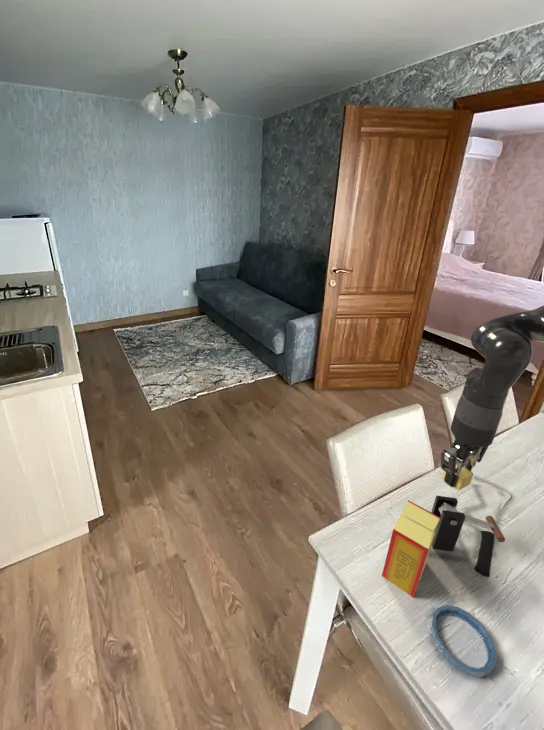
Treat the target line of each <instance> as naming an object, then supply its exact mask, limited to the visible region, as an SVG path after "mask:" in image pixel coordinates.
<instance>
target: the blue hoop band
mask: <svg viewBox="0 0 544 730" xmlns="http://www.w3.org/2000/svg"><path fill="white" fill-rule="evenodd" d="M448 616H449V617H455V618H458V619H460V620H462V621H463V622H465V623H467V624H468V625H469V626H470V627H472V629H474V630H475V631H476V633H477V634H478V636H479V637H480V638H481V640H482V641H483V644H484V647H485V649H486V657H487V658H486V659H487V660H486V662H485V664H484V666H480V667H473V666H468V665H467V664H465V663H463V662H462V661H460V660H459V659H457V658H456V657H455V656H454V655H453V654H452V652H450V651H449V650H448V648H446V646H445V644H444V643H443V641H442V640H441V638H440V637H439V636H440V635H439V633H438V623H439V621H440V620H441V619H442V618H445V617H448ZM429 630H430V632H431V636H432V640H433V642H434V645H435V646H436V648H437V649H438V651H439V653H440V654H441V656H442V657H443V658H444V659H445V660H446V661H447V662H449V664H450V666H452V667H453V668H455V669H456V670H458V671H460V672H461V673H462V674H465V675H466V676H470V677H474V678H479V679H481V678H484V677H486V676H490V675H491V673H492V672H493V669H494V668H495V666H496V664H497V662H498V657H497V655H498V654H497V648H496V645H495V643H494V640H493V637H492V636H491V634H490V633H489V632H488V630H487V629H486V627H485V626H484V624H483V623H482V622H481V621H480V620H479V619H477V618H476V617H475V616H473V615H472V614H471V613H470V612H468V611H467V610H465V609H463V608H461V607H459V606H455V605H449V604H446V605H442V606H438V607H437V608H436V610H435V611H434V612H433V613H432V616H431V618H430V629H429Z"/></svg>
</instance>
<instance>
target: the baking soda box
mask: <svg viewBox="0 0 544 730" xmlns="http://www.w3.org/2000/svg"><path fill="white" fill-rule="evenodd" d="M431 512H432V511H429V510H427V509H425V508H424V507H422V506H420V505H418V504H416V503H414V502H413V501H411V500H407V502H406V503H405V505H404V508H403V509H402V511H401V514H400V515H399V517H398V519H397V521H396V523H395V525H394V527H393V529H392V533H391V537H390V540H389V544H388V549H387V553H386V557H385V561H384V565H383V568H382V573H381V577H382V578H384V579H386V580H387V581H388V582H390V583H391V584H393V585H394V586H395V587H397V588H399V589H400V590H402V591H403V592H404V593H406V594H407V595H408V596H410V597H412V598H415V595H416V592H417V589H418V586H419V584H420V581H421V578H422V576H423V573H424V570H425V568H426V565H427V562H428V559H429V556H430V553H431V550H432V543H433V540H434V537H435V534H436V531H437V528H438V525H439V521H440V517H438V516H437V515H435V514H433V513H431Z"/></svg>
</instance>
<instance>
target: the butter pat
mask: <svg viewBox="0 0 544 730" xmlns="http://www.w3.org/2000/svg"><path fill="white" fill-rule="evenodd" d="M456 468H457V464H456ZM445 475H446V472H445V471H444V470H443V471H442V475H441V479H443V480H444V478H445ZM473 477H474V472H472V470H471V471H469V470H468V469H466V468H465V467H463V468H462V469H461V472H460V474H459V477H458V479H457V483H456V486H455V487H453V488H454V489H455V490H457V491H461V490H462V489H464V488H466V487H468V486H470V485H471V484H470V483H471V480H472V479H473Z"/></svg>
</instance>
